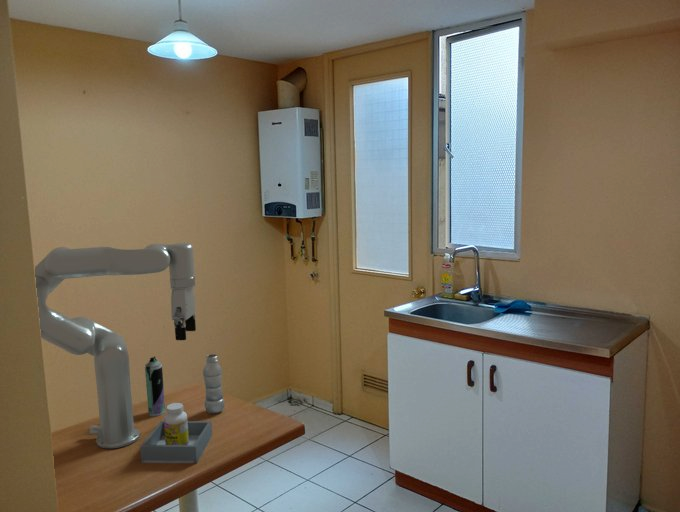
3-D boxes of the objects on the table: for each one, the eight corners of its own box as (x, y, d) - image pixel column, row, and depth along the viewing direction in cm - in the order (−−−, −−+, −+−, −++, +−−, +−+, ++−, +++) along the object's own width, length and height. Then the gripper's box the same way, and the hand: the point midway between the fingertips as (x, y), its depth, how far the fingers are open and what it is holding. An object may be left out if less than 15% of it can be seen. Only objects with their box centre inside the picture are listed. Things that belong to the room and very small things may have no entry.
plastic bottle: (220, 416, 187) (217, 359, 184) (201, 415, 188) (198, 358, 185) (227, 408, 193) (225, 353, 190) (209, 407, 194) (206, 352, 191)
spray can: (162, 416, 188) (158, 359, 185) (146, 416, 188) (141, 360, 185) (167, 409, 193) (163, 354, 190) (151, 409, 193) (147, 354, 190)
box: (141, 462, 157) (140, 446, 157) (161, 436, 173) (160, 421, 173) (196, 463, 157) (195, 446, 156) (212, 436, 173) (211, 421, 172)
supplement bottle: (161, 449, 164) (157, 408, 161) (177, 439, 169) (174, 399, 167) (177, 454, 160) (174, 412, 158) (193, 444, 166) (191, 403, 164)
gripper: (180, 277, 182) (183, 327, 185) (160, 288, 165) (164, 343, 168) (202, 277, 182) (205, 327, 185) (185, 288, 165) (189, 343, 168)
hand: (186, 335), depth 176 cm, fingers open, 9 cm apart
